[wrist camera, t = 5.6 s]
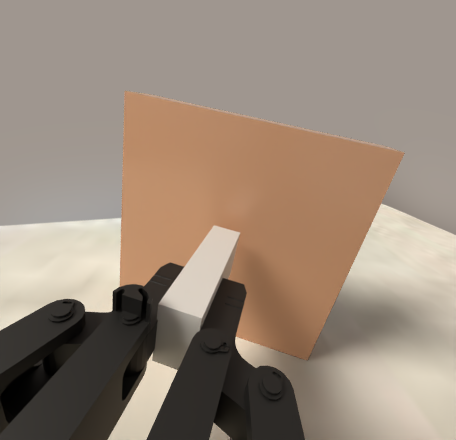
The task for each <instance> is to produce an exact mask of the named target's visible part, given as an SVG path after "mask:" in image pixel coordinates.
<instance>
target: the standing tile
mask: <svg viewBox="0 0 456 440" xmlns="http://www.w3.org/2000/svg"><path fill="white" fill-rule="evenodd" d="M403 155H404V152H401V151H398V150H396V149H393V148H390V147H387V146H382V145H378V144H373V143H369V142H364V141H360V140H355V139H350V138H346V137H341V136H336V135H332V134H328V133H323V132H319V131H314V130H309V129H305V128H301V127H296V126H291V125H287V124H282V123H278V122H273V121H268V120H264V119H260V118H255V117H250V116H246V115H241V114H237V113H232V112H227V111H222V110H219V109H214V108H209V107H205V106H200V105H196V104H190V103H187V102H182V101H178V100H173V99H169V98H164V97H160V96H155V95H150V94H145V93H137V92H129V91H125V105H124V144H123V180H122V184H123V185H122V219H121V258H120V287H121V286H124V285H129V284H137V285H142V286H145V285H146V284H147V282H148V281H150V279H151V278H152V277H153V275H155V273H156V272H157V271H158V270H159V268H160V267H162V266H164V265H166V264H168V263H170V262H171V263H174V264H177V265H180V266H184V267H185V265H186V264H187V263H188V261H189V260H190V258H191V257H192V256H193V254H194V253H195V251H196V250H197V249H198V247H199V246H200V244H201V243H202V242H203V240H204V239H205V237H206V236H207V234H208V233H209V232H210V230H211V229H212V227H213V226H214V225H215V226H218V227H222V228H226V229H229V230H233V231H236V232H240V236H239V240H238V244H237V248H236V252H235V257H234V261H233V265H232V269H231V273H230V276H229V278H228V280H232V281H235V282H238V283H241V284H244V285H245V289H246V292H247V294H246V298H245V302H244V306H243V310H242V314H241V318H240V321H239V325H238V329H237V333H236V337H239V338H242V339H245V340H248V341H251V342H254V343H257V344H260V345H263V346H266V347H269V348H272V349H275V350H278V351H280V352H283V353H286V354H289V355H292V356H295V357H298V358H301V359H304V360H308V358H309V356H310V354H311V352H312V349H313V347H314V345H315V343H316V341H317V339H318V337H319V334H320V332H321V330H322V328H323V326H324V324H325V322H326V320H327V317H328V315H329V313H330V311H331V309H332V307H333V305H334V303H335V300H336V298H337V296H338V294H339V292H340V290H341V288H342V285H343V283H344V281H345V279H346V277H347V275H348V273H349V271H350V268H351V266H352V264H353V262H354V260H355V258H356V256H357V254H358V251H359V249H360V247H361V245H362V243H363V241H364V239H365V236H366V234H367V232H368V230H369V228H370V226H371V224H372V222H373V219H374V217H375V215H376V213H377V211H378V209H379V207H380V205H381V202H382V200H383V198H384V196H385V194H386V191H387V190H388V187H389V185H390V183H391V181H392V179H393V176H394V175H395V173H396V170H397V168H398V166H399V164H400V162H401V160H402V158H403Z"/></svg>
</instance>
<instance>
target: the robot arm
mask: <svg viewBox="0 0 456 440" xmlns="http://www.w3.org/2000/svg"><path fill="white" fill-rule="evenodd" d="M239 236H240V232H236V231H233V230H229V229H226V228H222V227H218V226H215V225H214V226H213V227H212V229H211V230H210V232H209V233H208V234H207V236H206V237H205V239H204V240H203V242H202V243H201V244H200V246H199V247H198V249H197V250H196V251H195V253H194V254H193V256H192V257H191V258H190V260H189V261H188V263H187V264H186V265H185V267H184V266H180V265H177V264H174V263H171V262H170V263H168V264H166V265H164V266H162V267H160V268H159V270H158V271H157V272H156V273H155V275H153V277H152V278H151V279H150V281H148V282H147V284H146V285H145V286H142V285H137V284H129V285H124V286H121V287H119V288H117V289H116V290H114V291H113V311H112V312H108V313H99V312H85V307H84V305H83V304H82V303H81V302H80V301H77V300H74V299H63V300H57V301H55V302H52V303H50V304H48V305H46V306H44V307H42V308H40V309H39V310H37V311H35V312H33V313H31V314H30V315H28V316H26V317H24V318H22V319H21V320H19V321H17V322H15V323H13V324H11V325H10V326H8V327H6V328H4V329H2V330H1V331H0V440H107V439H108V438H109V436H110V434H111V432H112V431H113V429H114V427H115V425H116V424H117V422H118V420H119V418H120V417H121V415H122V413H123V411H124V410H125V408H126V406H127V404H128V402H129V401H130V399H131V397H132V395H133V394H134V392H135V390H136V388H137V387H138V385H139V383H140V381H141V380H142V378H143V376H144V374H145V371H146V366H147V361H148V359H149V358H150V356H151V354H152V353H153V359H152V361H155V362H158V363H161V364H163V365H166V366H169V367H172V368H174V369H177V370H178V371H177V373H176V376H175V378H174V380H173V382H172V384H171V387H170V389H169V391H168V393H167V395H166V398H165V400H164V402H163V404H162V406H161V409H160V411H159V413H158V415H157V418H156V420H155V422H154V424H153V426H152V429H151V431H150V433H149V435H148V437H147V440H209V437H210V433H211V430H212V426H213V422H214V423H215V424H216V425H217V426H218V427H220V428H221V429H222V430H223V431H224V432H225V433H226V434H227V435H229V436H230V440H305V438H304V434H303V429H302V425H301V421H300V416H299V412H298V407H297V403H296V399H295V394H294V390H293V388H292V385H291V383H290V381H289V379H288V378H287V377H286V376H285V375H284V373H282V372H281V371H279V370H278V369H276V368H274V367H270V366H259V367H258V368H255V367H253V366H252V365H250V364H249V363H248V362H246V361H245V360H244V359H243V358H242V357H241V356H240V354H239V353H238V351H237V349H236V345H235V337H236V333H237V329H238V325H239V321H240V318H241V314H242V310H243V306H244V302H245V298H246V294H247V292H246V289H245V285H244V284H241V283H238V282H235V281H232V280H228V278H229V276H230V273H231V269H232V265H233V261H234V257H235V252H236V248H237V244H238V240H239Z"/></svg>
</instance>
